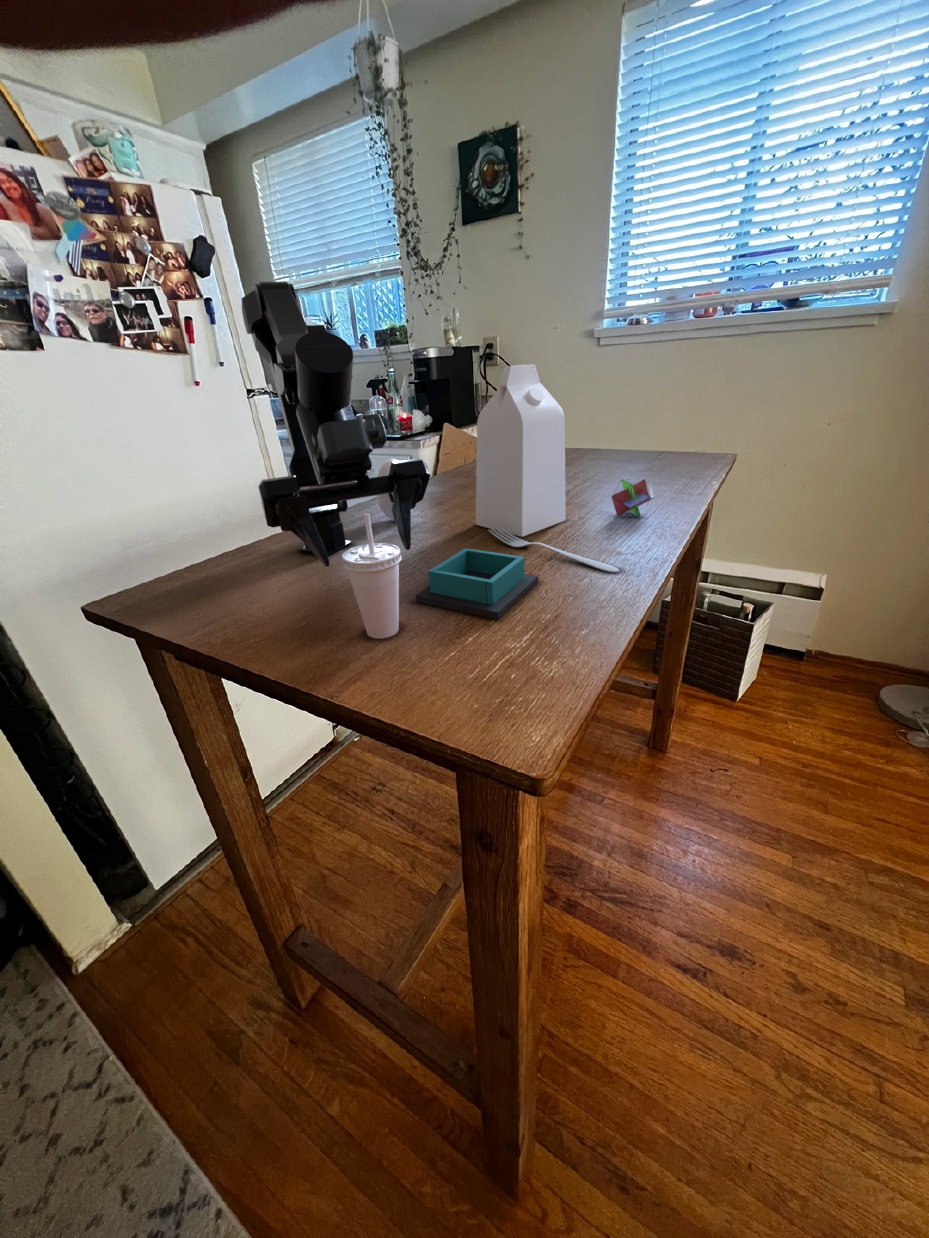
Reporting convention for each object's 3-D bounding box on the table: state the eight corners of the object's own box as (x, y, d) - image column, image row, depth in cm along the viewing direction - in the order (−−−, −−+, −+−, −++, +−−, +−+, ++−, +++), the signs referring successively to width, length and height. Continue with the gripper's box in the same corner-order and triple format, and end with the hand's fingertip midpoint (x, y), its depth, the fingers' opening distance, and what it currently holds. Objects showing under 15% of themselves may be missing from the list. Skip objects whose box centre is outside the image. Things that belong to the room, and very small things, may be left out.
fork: (611, 575, 69) (612, 563, 68) (486, 540, 85) (486, 530, 84) (624, 568, 71) (625, 556, 70) (499, 535, 87) (499, 525, 86)
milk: (519, 510, 100) (518, 364, 88) (565, 520, 92) (571, 362, 80) (475, 524, 93) (468, 368, 81) (522, 536, 86) (521, 366, 73)
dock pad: (415, 601, 65) (412, 573, 63) (463, 569, 74) (461, 543, 72) (498, 620, 59) (497, 589, 57) (538, 582, 68) (538, 554, 66)
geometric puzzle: (612, 511, 88) (641, 472, 86) (595, 502, 94) (622, 464, 92) (639, 531, 91) (668, 493, 89) (621, 521, 97) (648, 485, 95)
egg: (377, 527, 95) (368, 463, 90) (382, 516, 102) (374, 456, 96) (416, 524, 95) (409, 461, 90) (419, 514, 102) (412, 454, 96)
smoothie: (364, 650, 55) (343, 526, 48) (348, 626, 60) (327, 511, 53) (418, 634, 57) (405, 514, 51) (398, 613, 62) (384, 501, 56)
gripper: (236, 397, 49) (275, 535, 45) (416, 382, 55) (464, 502, 51) (250, 467, 59) (284, 586, 55) (401, 448, 65) (441, 552, 61)
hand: (369, 556), depth 55 cm, fingers open, 9 cm apart
